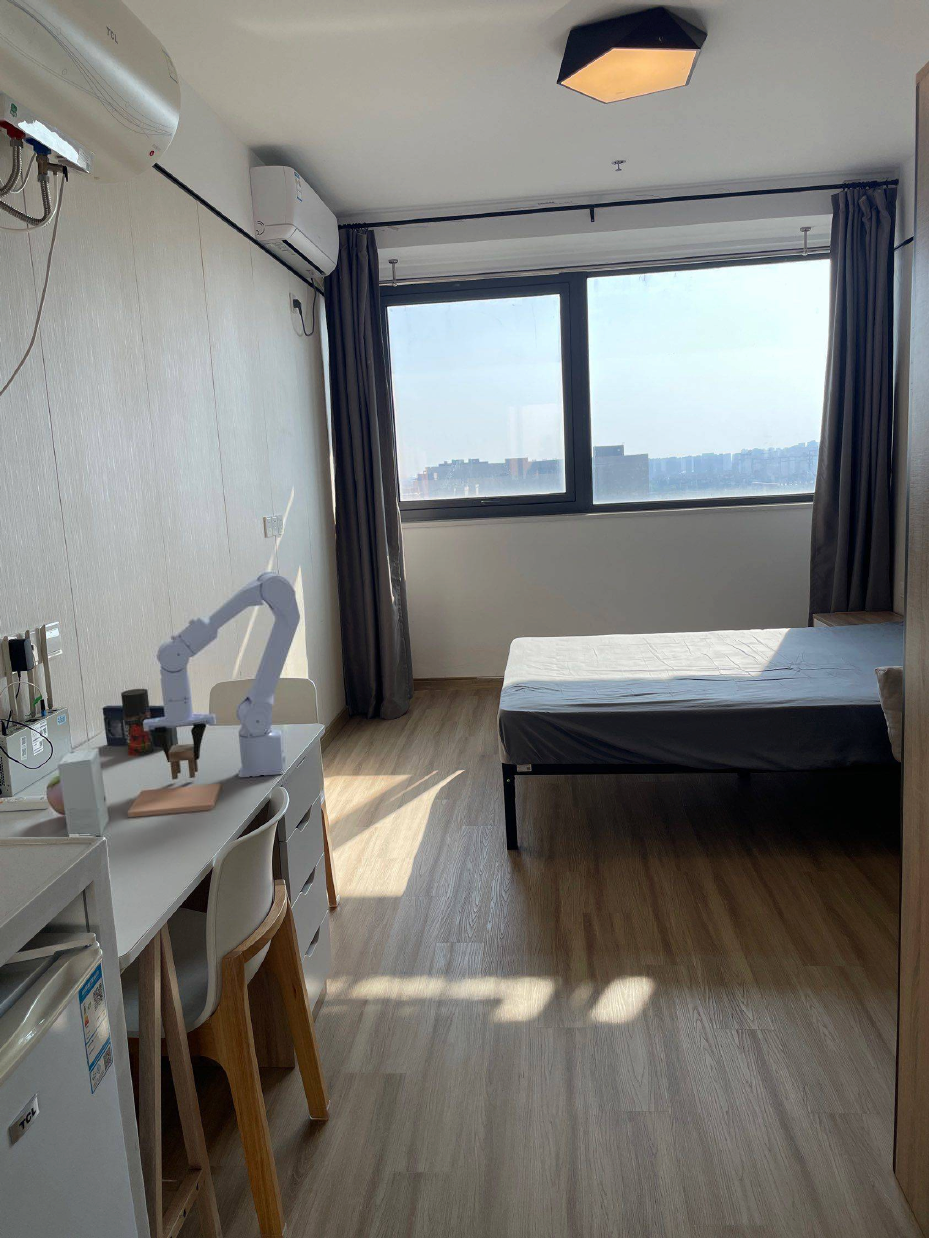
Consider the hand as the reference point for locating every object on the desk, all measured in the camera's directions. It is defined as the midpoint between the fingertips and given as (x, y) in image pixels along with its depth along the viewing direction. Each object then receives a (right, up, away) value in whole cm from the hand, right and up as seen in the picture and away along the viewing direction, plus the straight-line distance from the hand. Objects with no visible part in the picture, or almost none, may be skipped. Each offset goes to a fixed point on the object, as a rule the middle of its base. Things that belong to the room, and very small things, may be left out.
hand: (183, 759), depth 186 cm
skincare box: (-11, -10, -22) cm, 27 cm away
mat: (+2, -7, -10) cm, 12 cm away
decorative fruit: (-17, -9, -15) cm, 24 cm away
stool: (0, -3, +1) cm, 3 cm away
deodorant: (-18, -2, +24) cm, 31 cm away
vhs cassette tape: (-20, -2, +30) cm, 36 cm away
